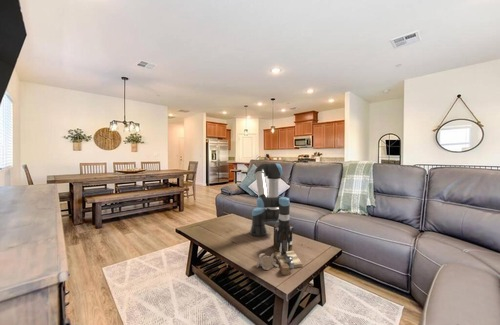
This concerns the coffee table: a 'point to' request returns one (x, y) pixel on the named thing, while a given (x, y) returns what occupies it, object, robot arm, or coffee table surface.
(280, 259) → the board
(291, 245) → the wooden container
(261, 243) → the coffee table surface
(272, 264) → the beige animal figurine
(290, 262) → the lever
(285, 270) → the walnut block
